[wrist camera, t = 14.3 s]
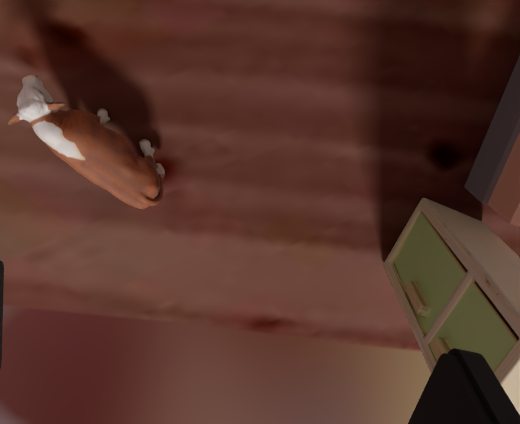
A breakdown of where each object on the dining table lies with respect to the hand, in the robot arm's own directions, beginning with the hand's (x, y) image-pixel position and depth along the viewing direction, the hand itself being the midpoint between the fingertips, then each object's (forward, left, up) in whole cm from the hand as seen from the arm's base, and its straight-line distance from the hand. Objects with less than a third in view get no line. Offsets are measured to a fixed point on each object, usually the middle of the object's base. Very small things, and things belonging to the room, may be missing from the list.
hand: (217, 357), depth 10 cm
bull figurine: (+6, -12, -34) cm, 36 cm away
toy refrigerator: (+9, +19, -34) cm, 40 cm away
